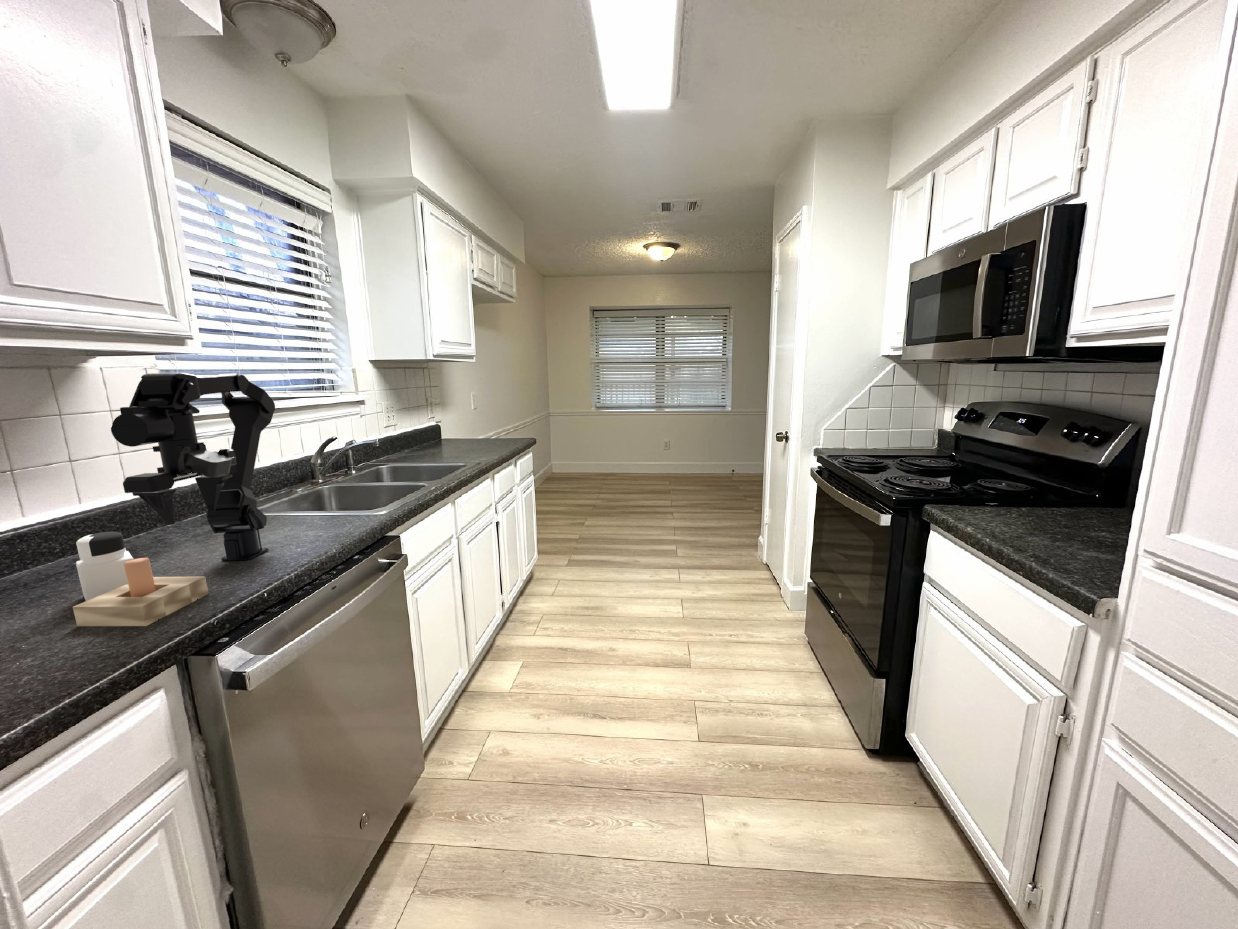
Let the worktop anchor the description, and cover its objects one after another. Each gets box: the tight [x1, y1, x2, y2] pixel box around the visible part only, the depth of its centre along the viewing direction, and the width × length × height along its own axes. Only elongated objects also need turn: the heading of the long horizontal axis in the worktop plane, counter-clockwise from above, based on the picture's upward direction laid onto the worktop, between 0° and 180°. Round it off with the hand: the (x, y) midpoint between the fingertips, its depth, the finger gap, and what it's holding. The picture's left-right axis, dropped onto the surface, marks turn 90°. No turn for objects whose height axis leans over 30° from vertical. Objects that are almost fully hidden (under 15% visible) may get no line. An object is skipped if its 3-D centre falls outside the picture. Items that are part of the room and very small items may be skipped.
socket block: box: [72, 575, 209, 627], centre depth 87 cm, size 12×12×4 cm
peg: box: [124, 557, 156, 597], centre depth 87 cm, size 3×3×9 cm
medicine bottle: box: [75, 531, 135, 601], centre depth 93 cm, size 7×7×12 cm
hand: (192, 517), depth 98 cm, fingers open, 9 cm apart
